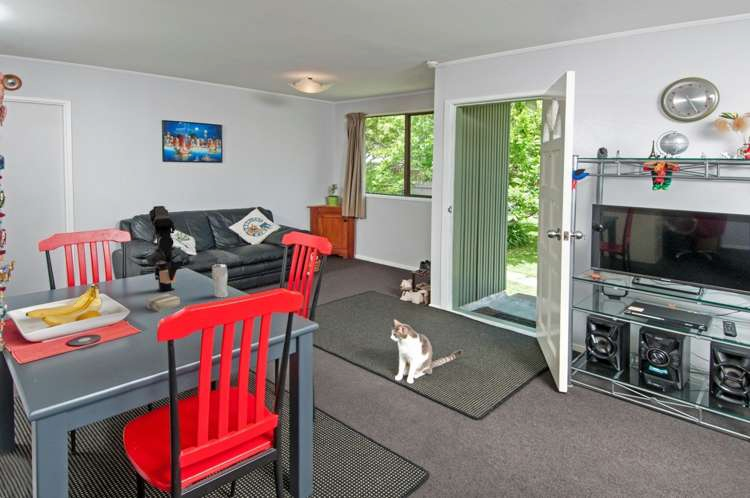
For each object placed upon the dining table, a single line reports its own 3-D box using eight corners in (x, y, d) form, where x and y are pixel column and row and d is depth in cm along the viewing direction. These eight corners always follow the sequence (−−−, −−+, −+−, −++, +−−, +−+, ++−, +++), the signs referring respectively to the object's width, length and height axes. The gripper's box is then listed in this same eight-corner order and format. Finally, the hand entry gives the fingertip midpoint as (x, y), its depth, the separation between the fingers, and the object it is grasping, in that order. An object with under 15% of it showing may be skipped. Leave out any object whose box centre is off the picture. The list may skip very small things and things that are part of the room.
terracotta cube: (160, 282, 217) (159, 271, 216) (170, 279, 220) (169, 269, 220) (166, 283, 214) (165, 272, 213) (176, 281, 218) (175, 270, 217)
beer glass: (224, 298, 228) (222, 267, 225) (211, 297, 229) (208, 267, 226) (231, 294, 234) (229, 264, 231) (218, 293, 236) (216, 263, 233)
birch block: (147, 307, 214) (146, 298, 213) (168, 302, 222) (167, 293, 221) (159, 311, 208) (158, 303, 207) (180, 306, 216) (179, 297, 215)
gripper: (136, 246, 213) (139, 280, 216) (159, 250, 202) (162, 286, 205) (160, 242, 222) (163, 275, 225) (183, 246, 211) (186, 281, 214)
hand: (168, 279), depth 217 cm, fingers closed on terracotta cube, 5 cm apart
